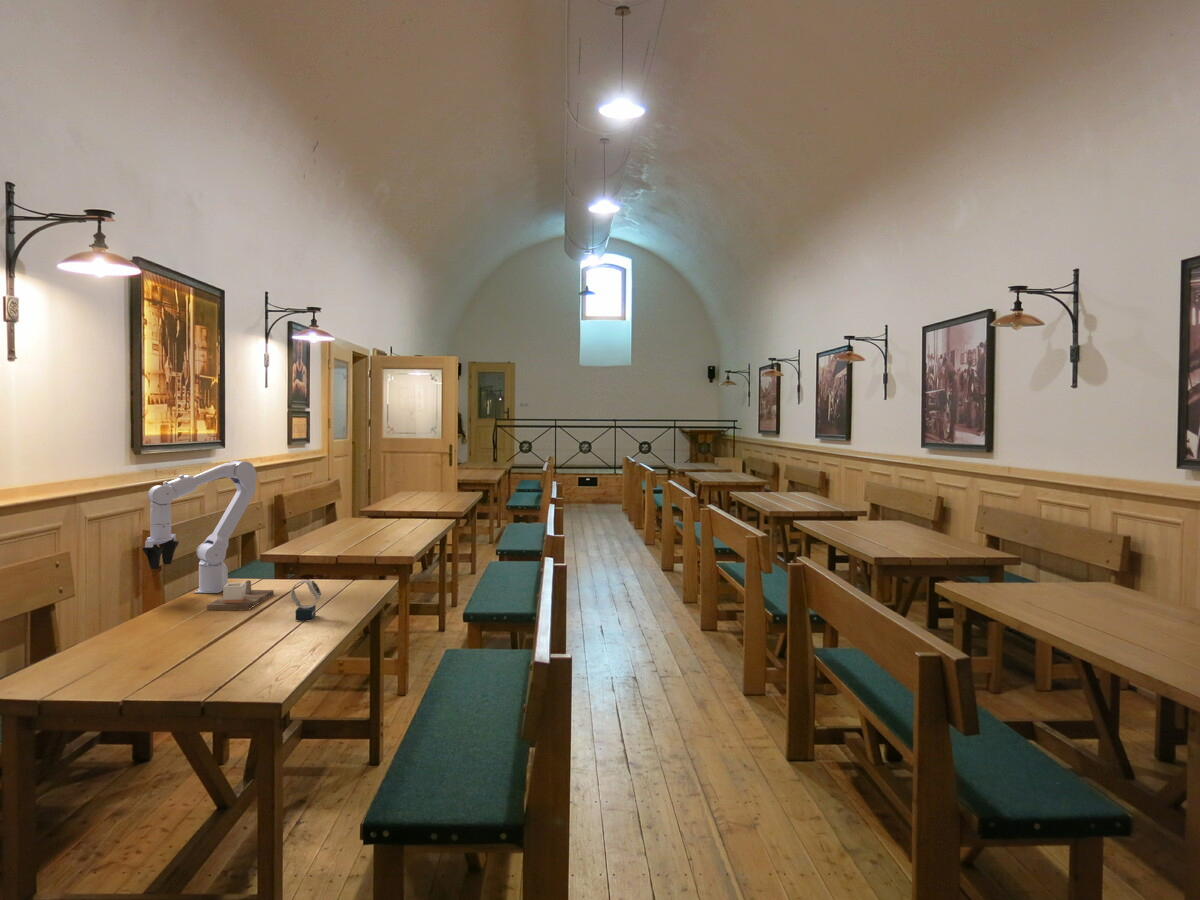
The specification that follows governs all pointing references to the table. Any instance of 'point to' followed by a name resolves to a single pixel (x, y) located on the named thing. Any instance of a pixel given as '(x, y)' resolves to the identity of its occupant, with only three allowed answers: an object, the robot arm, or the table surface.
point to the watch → (306, 610)
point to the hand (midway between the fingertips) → (161, 566)
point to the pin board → (250, 600)
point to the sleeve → (234, 593)
